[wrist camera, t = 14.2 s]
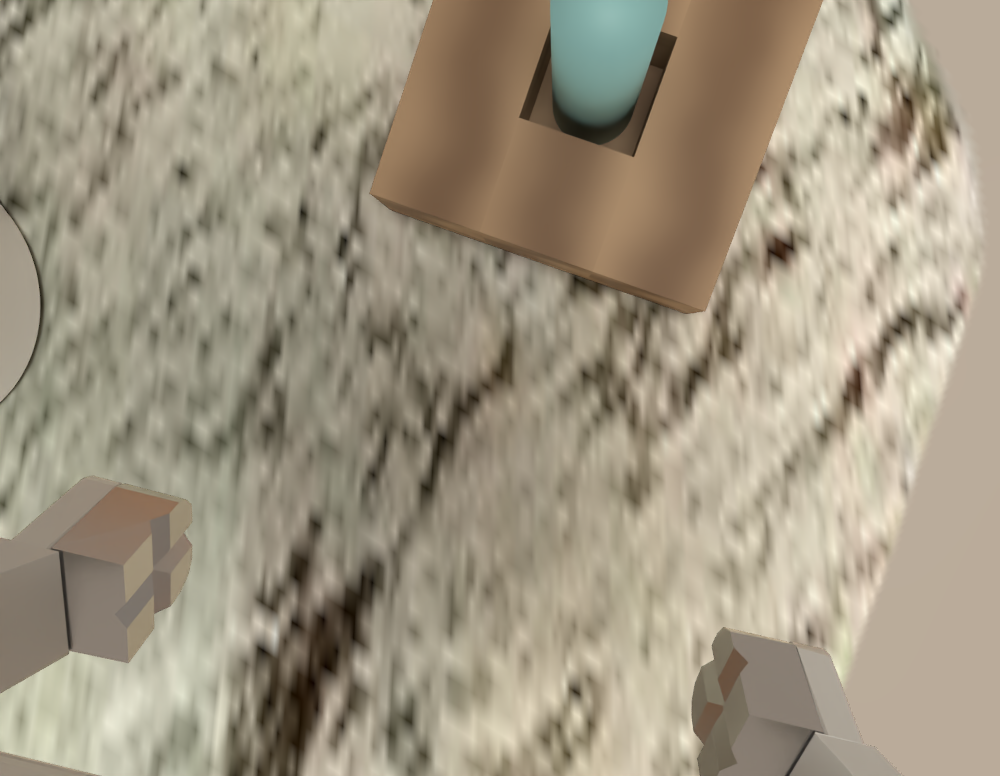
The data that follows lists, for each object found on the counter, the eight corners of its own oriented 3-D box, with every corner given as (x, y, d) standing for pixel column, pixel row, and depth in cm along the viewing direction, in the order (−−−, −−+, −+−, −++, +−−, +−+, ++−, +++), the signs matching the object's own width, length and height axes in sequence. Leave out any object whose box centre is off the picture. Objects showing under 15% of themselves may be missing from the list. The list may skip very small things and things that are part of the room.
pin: (541, 130, 36) (534, 41, 25) (568, 51, 36) (573, -75, 25) (618, 156, 36) (643, 77, 25) (646, 76, 36) (684, -39, 25)
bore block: (390, 210, 38) (369, 193, 33) (494, -102, 36) (486, -163, 32) (686, 313, 37) (705, 310, 32) (803, 2, 35) (840, -46, 31)
